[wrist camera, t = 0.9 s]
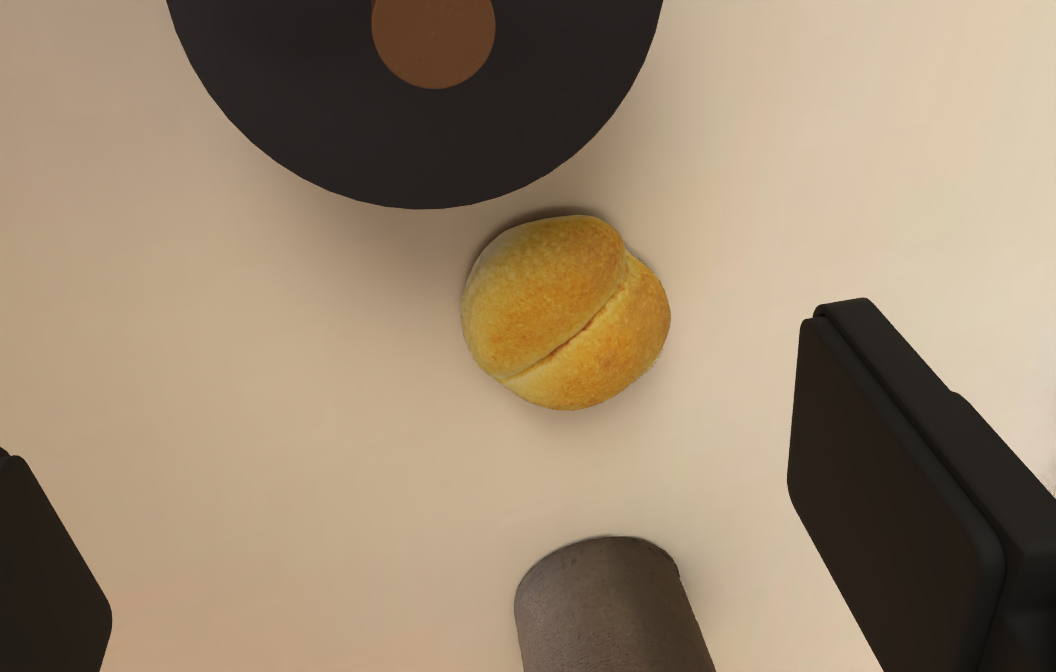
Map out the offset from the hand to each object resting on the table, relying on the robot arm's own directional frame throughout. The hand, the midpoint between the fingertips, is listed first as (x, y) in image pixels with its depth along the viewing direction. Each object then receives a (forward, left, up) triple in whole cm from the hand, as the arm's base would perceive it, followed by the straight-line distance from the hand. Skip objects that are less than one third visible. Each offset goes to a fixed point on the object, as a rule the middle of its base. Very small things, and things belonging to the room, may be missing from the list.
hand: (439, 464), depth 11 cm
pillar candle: (+33, +8, -24) cm, 42 cm away
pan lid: (-2, +1, -17) cm, 17 cm away
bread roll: (+13, +6, -24) cm, 28 cm away
